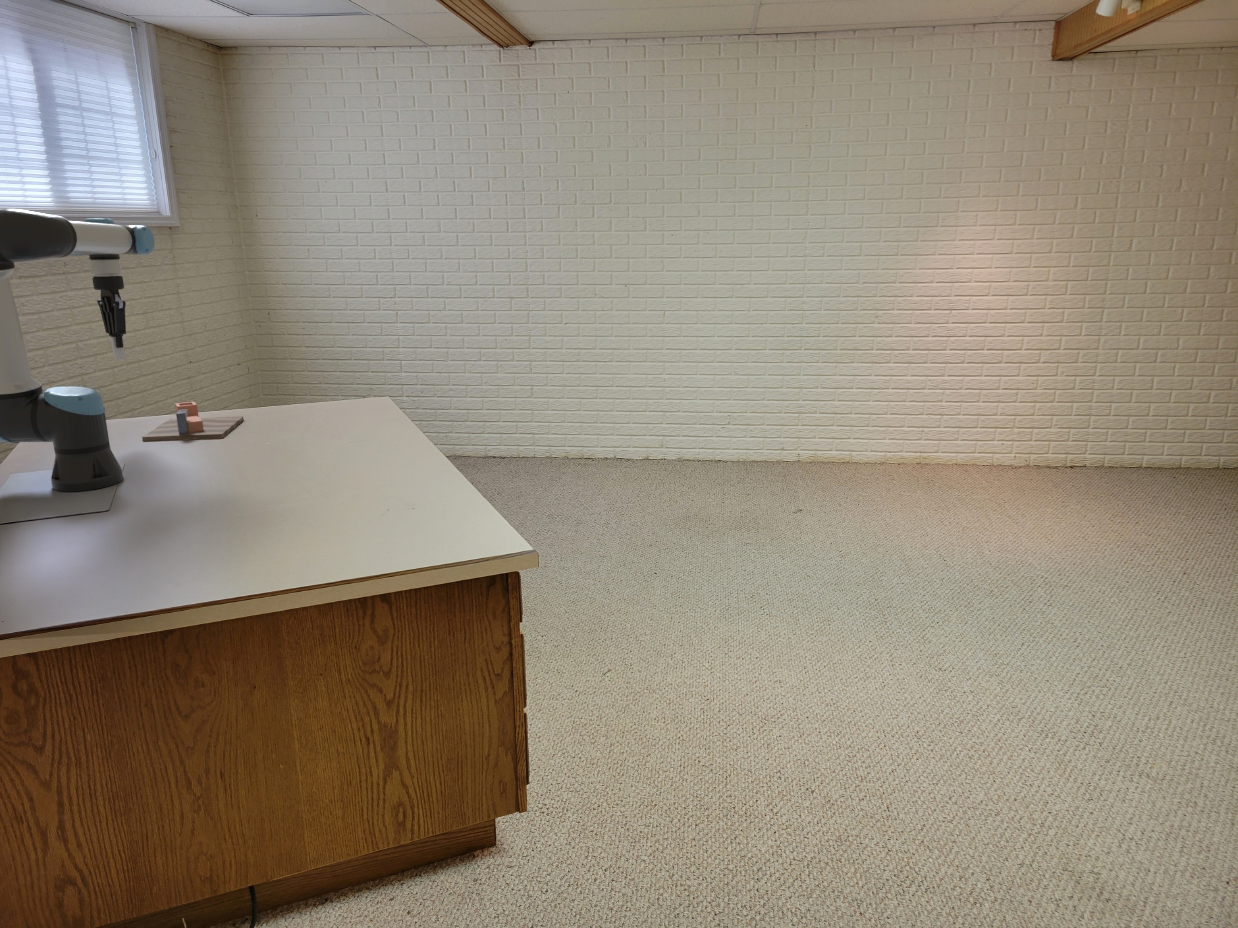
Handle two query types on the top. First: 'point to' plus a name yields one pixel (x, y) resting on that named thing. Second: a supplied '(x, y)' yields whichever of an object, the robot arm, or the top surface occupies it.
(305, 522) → the top surface
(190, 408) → the link
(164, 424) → the board
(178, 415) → the bracket
